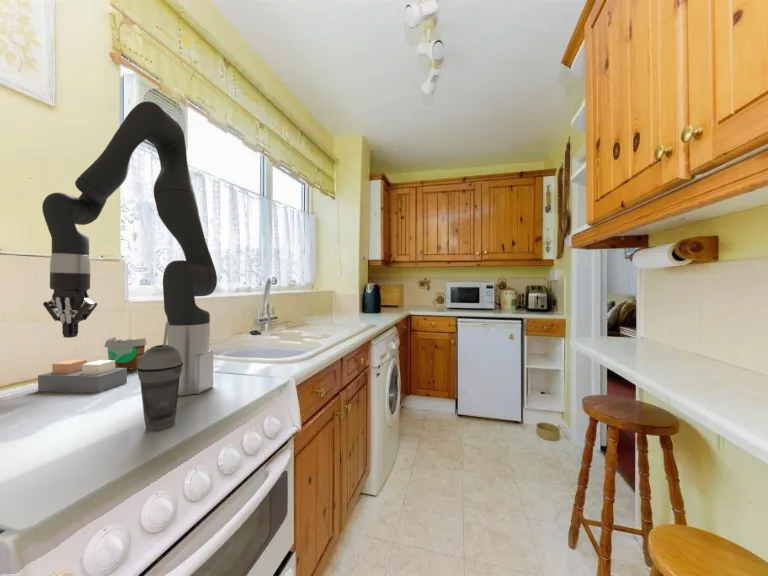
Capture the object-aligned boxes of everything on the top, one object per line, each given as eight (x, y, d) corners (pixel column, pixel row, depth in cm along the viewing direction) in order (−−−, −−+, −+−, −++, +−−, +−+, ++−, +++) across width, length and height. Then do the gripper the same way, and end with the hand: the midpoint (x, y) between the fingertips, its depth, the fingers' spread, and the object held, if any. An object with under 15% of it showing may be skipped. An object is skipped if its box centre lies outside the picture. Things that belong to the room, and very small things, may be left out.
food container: (93, 372, 95) (93, 340, 94) (113, 367, 101) (114, 336, 101) (127, 375, 92) (127, 341, 92) (146, 369, 99) (146, 338, 98)
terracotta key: (86, 372, 84) (86, 359, 84) (69, 377, 80) (69, 364, 80) (70, 372, 84) (70, 359, 84) (52, 377, 80) (52, 363, 80)
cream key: (115, 373, 84) (115, 360, 84) (99, 378, 79) (99, 364, 79) (99, 372, 84) (99, 360, 84) (82, 377, 80) (82, 364, 80)
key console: (126, 382, 86) (126, 368, 86) (99, 392, 78) (99, 376, 78) (71, 381, 86) (71, 366, 86) (38, 391, 78) (38, 375, 78)
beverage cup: (153, 418, 63) (153, 320, 63) (190, 417, 64) (191, 320, 63) (126, 435, 56) (126, 324, 56) (169, 434, 56) (169, 324, 56)
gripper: (108, 272, 85) (107, 335, 86) (62, 271, 86) (61, 334, 86) (80, 271, 78) (79, 340, 78) (30, 270, 78) (29, 339, 79)
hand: (70, 337), depth 82 cm, fingers closed
